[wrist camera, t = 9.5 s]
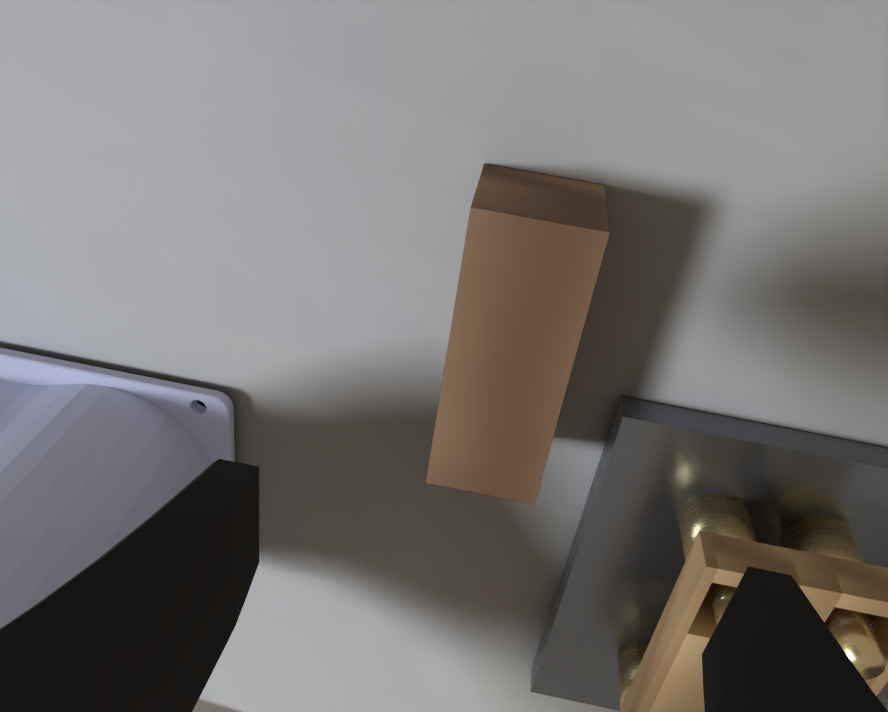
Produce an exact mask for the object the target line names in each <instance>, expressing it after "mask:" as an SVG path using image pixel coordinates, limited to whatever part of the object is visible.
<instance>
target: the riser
mask: <svg viewBox="0 0 888 712" xmlns="http://www.w3.org/2000/svg"><path fill="white" fill-rule="evenodd" d="M609 234H610V231H609V222H608V213H607V203H606V194H605V185H600V184H595V183H589V182H584V181H578V180H572V179H567V178H561V177H556V176H550V175H545V174H539V173H534V172H528V171H523V170H517V169H512V168H506V167H500V166H495V165H489V164H484V167H483V170H482V173H481V176H480V179H479V183H478V186H477V189H476V192H475V195H474V199H473V202H472V205H471V209H470V215H469V221H468V227H467V233H466V239H465V246H464V252H463V258H462V264H461V270H460V276H459V282H458V288H457V294H456V301H455V307H454V313H453V319H452V325H451V331H450V337H449V343H448V349H447V356H446V362H445V368H444V374H443V380H442V386H441V392H440V398H439V405H438V411H437V417H436V423H435V429H434V435H433V441H432V447H431V453H430V460H429V466H428V472H427V478H426V483H430V484H435V485H440V486H445V487H450V488H455V489H460V490H465V491H470V492H475V493H480V494H484V495H489V496H494V497H499V498H504V499H509V500H514V501H519V502H524V503H529V504H534V505H535V501H536V497H537V494H538V490H539V486H540V483H541V479H542V476H543V472H544V468H545V465H546V461H547V458H548V454H549V450H550V447H551V443H552V440H553V436H554V432H555V429H556V425H557V421H558V418H559V414H560V411H561V407H562V403H563V400H564V396H565V393H566V389H567V385H568V382H569V378H570V374H571V371H572V367H573V364H574V360H575V356H576V353H577V349H578V346H579V342H580V338H581V335H582V331H583V327H584V324H585V320H586V317H587V313H588V309H589V306H590V302H591V299H592V295H593V291H594V288H595V284H596V281H597V277H598V273H599V270H600V266H601V262H602V259H603V255H604V252H605V248H606V244H607V241H608V237H609Z"/></svg>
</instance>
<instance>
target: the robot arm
mask: <svg viewBox="0 0 888 712" xmlns="http://www.w3.org/2000/svg"><path fill="white" fill-rule="evenodd" d="M196 400H199V401H201V402H203V403H204V404H205V406H202V405H200V404H199V403H198V402H197V401H196ZM258 563H259V467H257V466H252V465H247V464H242V463H237V462H235V444H234V406H233V402H232V400H231V399H230V398H229V397H228V396H227V395H226V394H224V393H222V392H220V391H216V390H211V389H206V388H201V387H196V386H191V385H186V384H181V383H176V382H171V381H166V380H161V379H156V378H151V377H146V376H141V375H136V374H131V373H125V372H120V371H115V370H110V369H105V368H100V367H95V366H90V365H85V364H80V363H75V362H70V361H65V360H60V359H55V358H50V357H45V356H40V355H35V354H30V353H25V352H20V351H15V350H10V349H5V348H0V712H192V711H193V709H194V707H195V705H196V703H197V701H198V699H199V697H200V695H201V693H202V691H203V689H204V687H205V685H206V683H207V681H208V679H209V677H210V675H211V673H212V671H213V669H214V667H215V665H216V663H217V661H218V659H219V657H220V655H221V653H222V651H223V649H224V647H225V645H226V643H227V642H228V639H229V637H230V635H231V633H232V631H233V629H234V627H235V625H236V623H237V620H238V617H239V615H240V612H241V610H242V607H243V604H244V602H245V599H246V597H247V594H248V591H249V588H250V586H251V583H252V580H253V577H254V574H255V572H256V569H257V566H258ZM702 671H703V694H704V707H705V712H887V710H886V709H885V707H884V706H883V705H882V703H881V702H880V701H879V699H878V698H877V696H876V695H875V694H874V692H873V691H872V690H871V688H870V687H869V685H868V684H867V683H866V681H865V680H864V678H863V677H862V676H861V674H860V673H859V671H858V670H857V669H856V667H855V666H854V664H853V663H852V661H851V660H850V659H849V657H848V656H847V654H846V653H845V651H844V650H843V649H842V647H841V646H840V644H839V643H838V641H837V640H836V639H835V637H834V636H833V634H832V633H831V631H830V630H829V629H828V627H827V626H826V624H825V623H824V621H823V620H822V618H821V617H820V616H819V614H818V613H817V611H816V610H815V608H814V607H813V605H812V604H811V603H810V601H809V600H808V598H807V597H806V595H805V594H804V592H803V591H802V590H801V588H800V587H799V585H798V584H797V583H796V581H795V580H794V578H793V577H792V576H791V575H788V574H783V573H779V572H774V571H769V570H764V569H759V568H754V567H749V566H748V567H747V569H746V571H745V573H744V575H743V577H742V579H741V581H740V583H739V584H738V586H737V588H736V590H735V592H734V594H733V596H732V598H731V600H730V602H729V604H728V605H727V607H726V609H725V611H724V613H723V615H722V617H721V619H720V621H719V623H718V624H717V626H716V628H715V630H714V632H713V634H712V636H711V638H710V640H709V642H708V644H707V645H706V647H705V649H704V651H703V653H702Z"/></svg>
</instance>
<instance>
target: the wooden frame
mask: <svg viewBox="0 0 888 712" xmlns="http://www.w3.org/2000/svg"><path fill="white" fill-rule="evenodd" d="M748 566H749V567H754V568H759V569H764V570H769V571H774V572H779V573H783V574H788V575H791V576H792V577H793V578H794V580H795V581H796V583H797V584H798V585H799V587H800V588H801V590H802V591H803V592H804V594H805V595H806V597H807V598H808V600H809V601H810V603H811V604H812V605H813V607H814V608H815V610H816V611H817V613H818V614H819V616H820V617H821V618H822V620H823V621H824V623H825V621H826V620H827V618H828V616H829V615H830V613H831V612H832V610H833V609H834V607H837V608H842V609H847V610H852V611H857V612H862V613H867V614H872V615H877V616H878V617H877V618H876V619H875V621H874V622H873V624H872V625H871V627H870V628H871V630H872V633H873V635H874V638H875V640H876V643H877V645H878V647H879V650H880V652H881V655H882V657H883V660H884V662H885V670H884V672H883V673H882V674H881V675H879V676H877V677H875V678H872V679H869V680H865V681H866V683H867V684H868V685H869V687H870V688H871V690H872V691H873V692H874V694H875V695H876V696H877V695H878V694H879V693H880V691H881V690H882V689H883V687H884V686H885V685H886V683H887V682H888V568H886V567H881V566H876V565H871V564H866V563H861V562H855V561H850V560H845V559H840V558H835V557H830V556H825V555H820V554H815V553H810V552H805V551H799V550H794V549H789V548H784V547H779V546H774V545H769V544H764V543H759V542H754V541H748V540H743V539H738V538H733V537H728V536H723V535H718V534H713V533H708V532H703V531H699V532H698V534H697V537H696V539H695V541H694V543H693V546H692V548H691V550H690V552H689V555H688V557H687V559H686V561H685V564H684V566H683V568H682V571H681V573H680V575H679V577H678V580H677V582H676V584H675V586H674V589H673V591H672V593H671V595H670V598H669V600H668V602H667V604H666V607H665V609H664V611H663V613H662V616H661V618H660V620H659V622H658V625H657V627H656V629H655V631H654V634H653V636H652V638H651V640H650V643H649V645H648V647H647V649H646V652H645V654H644V656H643V658H642V661H641V663H640V665H639V667H638V670H637V672H636V674H635V676H634V679H633V681H632V683H631V685H630V688H629V690H628V692H627V694H626V697H625V699H624V701H623V704H622V706H621V708H620V710H619V712H705V707H704V694H703V671H702V653H703V651H704V649H705V647H706V645H707V644H708V642H709V640H710V638H711V636H712V634H713V632H714V630H715V628H716V626H717V625H716V620H715V615H714V610H713V604H712V603H709V602H704V601H703V600H704V598H705V596H706V594H707V592H708V590H709V587H710V585H711V583H717V584H722V585H727V586H732V587H737V586H738V584H739V583H740V581H741V579H742V577H743V575H744V573H745V571H746V569H747V567H748Z"/></svg>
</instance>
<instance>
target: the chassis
mask: <svg viewBox="0 0 888 712" xmlns="http://www.w3.org/2000/svg"><path fill="white" fill-rule="evenodd" d="M699 531H703V532H708V533H713V534H718V535H723V536H728V537H733V538H738V539H743V540H748V541H754V542H759V543H764V544H769V545H774V546H779V547H784V548H789V549H794V550H799V551H805V552H810V553H815V554H820V555H825V556H830V557H835V558H840V559H845V560H850V561H855V562H861V563H866V564H871V565H876V566H881V567H886V568H888V448H886V447H881V446H876V445H870V444H865V443H860V442H855V441H850V440H845V439H839V438H834V437H829V436H824V435H819V434H814V433H809V432H803V431H798V430H793V429H788V428H783V427H778V426H772V425H767V424H762V423H757V422H752V421H747V420H741V419H736V418H731V417H726V416H721V415H716V414H711V413H705V412H700V411H695V410H690V409H685V408H680V407H674V406H669V405H664V404H659V403H654V402H649V401H643V400H638V399H633V398H628V397H623V396H621V398H620V401H619V404H618V407H617V410H616V414H615V417H614V420H613V423H612V426H611V429H610V432H609V435H608V438H607V441H606V444H605V447H604V450H603V453H602V456H601V459H600V462H599V465H598V468H597V471H596V474H595V478H594V481H593V484H592V487H591V490H590V493H589V496H588V499H587V502H586V505H585V508H584V511H583V514H582V517H581V520H580V523H579V526H578V529H577V532H576V535H575V538H574V542H573V545H572V548H571V551H570V554H569V557H568V560H567V563H566V566H565V569H564V572H563V575H562V578H561V581H560V584H559V587H558V590H557V593H556V596H555V599H554V602H553V605H552V609H551V612H550V615H549V618H548V621H547V624H546V627H545V630H544V633H543V636H542V639H541V642H540V645H539V648H538V651H537V654H536V657H535V660H534V663H533V666H532V677H531V692H535V693H540V694H544V695H549V696H554V697H558V698H563V699H568V700H572V701H577V702H582V703H586V704H591V705H596V706H600V707H605V708H610V709H614V710H620V708H621V706H622V704H623V701H624V699H625V697H626V694H627V692H628V690H629V688H630V685H631V683H632V681H633V679H634V676H635V674H636V672H637V670H638V667H639V665H640V663H641V661H642V658H643V656H644V654H645V652H646V649H647V647H648V645H649V643H650V640H651V638H652V636H653V634H654V631H655V629H656V627H657V625H658V622H659V620H660V618H661V616H662V613H663V611H664V609H665V607H666V604H667V602H668V600H669V598H670V595H671V593H672V591H673V589H674V586H675V584H676V582H677V580H678V577H679V575H680V573H681V571H682V568H683V566H684V564H685V561H686V559H687V557H688V555H689V552H690V550H691V548H692V546H693V543H694V541H695V539H696V537H697V534H698V532H699ZM736 588H737V587H732V586H727V585H722V584H717V583H711V585H710V587H709V590H708V592H707V594H706V596H705V598H704V600H703V601H704V602H709V603H712V604H713V610H714V615H715V620H716V625H717V624H718V623H719V621H720V619H721V617H722V615H723V613H724V611H725V609H726V607H727V605H728V604H729V602H730V600H731V598H732V596H733V594H734V592H735V590H736ZM877 617H878V616H877V615H872V614H867V613H862V612H857V611H852V610H847V609H842V608H837V607H834V609H833V610H832V612H831V613H830V615H829V616H828V618H827V620H826V621H825V624H826V626H827V627H828V629H829V630H830V631H831V633H832V634H833V636H834V637H835V639H836V640H837V641H838V643H839V644H840V646H841V647H842V649H843V650H844V651H845V653H846V654H847V656H848V657H849V659H850V660H851V661H852V663H853V664H854V666H855V667H856V669H857V670H858V671H859V673H860V674H861V676H862V677H863V678H864V680H869V679H872V678H875V677H877V676H879V675H881V674H882V673H883V672H884V670H885V662H884V660H883V657H882V655H881V652H880V650H879V647H878V645H877V643H876V640H875V638H874V635H873V633H872V630H871V628H870V627H871V625H872V624H873V622H874V621H875V619H876V618H877Z"/></svg>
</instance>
